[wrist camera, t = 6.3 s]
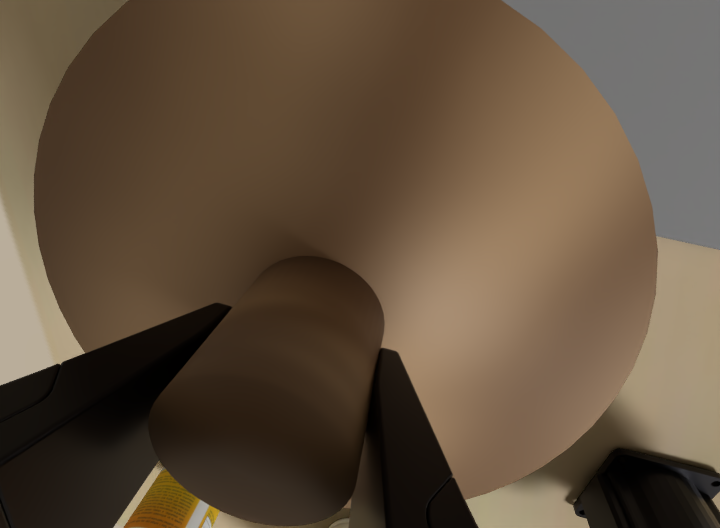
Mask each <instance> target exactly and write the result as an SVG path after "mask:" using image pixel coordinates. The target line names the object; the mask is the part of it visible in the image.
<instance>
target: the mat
mask: <svg viewBox="0 0 720 528" xmlns="http://www.w3.org/2000/svg"><path fill="white" fill-rule="evenodd" d="M502 1H503V2H505V3H506V4H507V5H509V6H510V7H512V8H513V9H514V10H516V11H517V12H519V13H520V14H522V15H523V16H524V17H526V18H527V19H529V20H530V21H531V22H533V23H534V24H536V25H537V26H538V27H540V28H541V29H542V30H543V31H544V32H545V33H547V34H548V35H549V36H550V37H551V38H552V39H553V40H554V41H555V42H556V43H557V44H558V45H559V46H560V47H561V48H562V49H563V50H564V51H565V52H566V53H567V54H568V55H569V56H570V57H571V58H572V59H573V60H574V61H575V62H576V63H577V64H578V65H579V66H580V67H581V68H582V69H583V70H584V72H585V73H586V74H587V76H588V77H589V78H590V80H591V81H592V83H593V84H594V85H595V87H596V88H597V89H598V91H599V92H600V94H601V95H602V96H603V98H604V99H605V100H606V102H607V103H608V105H609V106H610V107H611V109H612V110H613V111H614V113H615V114H616V116H617V118H618V120H619V122H620V124H621V126H622V128H623V130H624V132H625V134H626V136H627V138H628V140H629V143H630V145H631V147H632V149H633V151H634V153H635V155H636V157H637V159H638V161H639V164H640V168H641V171H642V174H643V177H644V181H645V184H646V187H647V191H648V194H649V197H650V201H651V204H652V208H653V217H654V225H655V233H656V236H659V237H664V238H668V239H673V240H677V241H682V242H686V243H691V244H696V245H700V246H705V247H709V248H714V249H718V250H720V0H502Z"/></svg>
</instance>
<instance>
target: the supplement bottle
mask: <svg viewBox="0 0 720 528" xmlns="http://www.w3.org/2000/svg"><path fill="white" fill-rule="evenodd" d="M219 511H220V510H218V509H216V508H214V507H212V506H210V505H208V504H207V503H205V502H203V501H202V500H200V499H198V498H197V497H195V496H194V495H193V494H191V493H190V492H188V491H187V490H186V489H185V488H184V487H183V486H181V485H180V484H179V483H178V482H177V481H176V480H175V479H174V478H173V477H172V476H171V475H170V474H169V472H168V471H167V470H166V469H165V468H163V469H162V471H161V472H160V474H159V475H158V477H157V478H156V480H155V481H154V483H153V484H152V486H151V487H150V489H149V490H148V492H147V493H146V495H145V496H144V498H143V499H142V501H141V502H140V504H139V505H138V507H137V508H136V510H135V511H134V513H133V514H132V516H131V517H130V519H129V520H128V522H127V523H126V525H125V526H124V528H212V526H213V524H214V522H215V520H216V518H217V516H218V514H219Z"/></svg>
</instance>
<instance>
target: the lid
mask: <svg viewBox="0 0 720 528" xmlns="http://www.w3.org/2000/svg"><path fill="white" fill-rule="evenodd" d="M34 213H35V220H36V228H37V235H38V242H39V247H40V251H41V255H42V259H43V262H44V266H45V270H46V274H47V277H48V280H49V283H50V285H51V288H52V290H53V293H54V295H55V298H56V300H57V303H58V305H59V308H60V310H61V312H62V314H63V316H64V318H65V319H66V321H67V323H68V325H69V327H70V329H71V331H72V333H73V335H74V337H75V338H76V340H77V341H78V343H79V344H80V346H81V347H82V349H83V350H84V352H85V353H87V352H90V351H92V350H95V349H97V348H100V347H103V346H105V345H108V344H110V343H113V342H115V341H118V340H120V339H123V338H126V337H128V336H131V335H133V334H136V333H138V332H141V331H144V330H146V329H149V328H151V327H154V326H156V325H159V324H162V323H164V322H167V321H169V320H172V319H174V318H177V317H179V316H182V315H185V314H187V313H190V312H192V311H195V310H197V309H200V308H203V307H205V306H208V305H210V304H213V303H222V304H226V305H229V306H232V307H233V308H232V309H231V310H230V311H229V312H228V314H227V315H226V316H225V317H224V318H223V320H222V321H221V322H220V323H219V324H218V326H217V327H216V328H215V329H214V330H213V332H212V333H211V334H210V335H209V336H208V338H207V339H206V340H205V341H204V342H203V344H202V345H201V346H200V347H199V348H198V350H197V351H196V352H195V353H194V354H193V356H192V357H191V358H190V359H189V360H188V362H187V363H186V364H185V365H184V366H183V368H182V369H181V370H180V371H179V372H178V374H177V375H176V376H175V377H174V378H173V380H172V381H171V382H170V383H169V384H168V386H167V387H166V388H165V389H164V390H163V392H162V393H161V394H160V395H159V397H158V398H157V399H156V401H155V402H154V404H153V406H152V408H151V411H150V415H149V420H148V430H149V436H150V440H151V443H152V446H153V449H154V451H155V453H156V455H157V457H158V459H159V460H160V462H161V463H162V465H163V466H164V468H165V469H166V470H167V471H168V472H169V474H170V475H171V476H172V477H173V478H174V479H175V480H176V481H177V482H178V483H179V484H180V485H181V486H183V487H184V488H185V489H186V490H187V491H188V492H190V493H191V494H193V495H194V496H195V497H197V498H198V499H200V500H202V501H203V502H205V503H207V504H208V505H210V506H212V507H214V508H216V509H218V510H220V511H222V512H224V513H227V514H229V515H232V516H234V517H237V518H240V519H243V520H247V521H251V522H255V523H260V524H266V525H274V526H299V525H306V524H311V523H315V522H318V521H321V520H324V519H326V518H328V517H330V516H332V515H334V514H335V513H337V512H338V511H340V510H341V509H342V508H349V509H350V507H351V497H352V495H353V492H354V490H355V486H356V482H357V476H358V471H359V465H360V460H361V455H362V449H363V444H364V438H365V433H366V427H367V422H368V416H369V411H370V404H371V396H372V390H373V384H374V379H375V373H376V368H377V363H378V357H379V352H380V349H381V348H387V349H391V350H394V351H397V352H398V353H399V355H400V357H401V360H402V362H403V364H404V366H405V368H406V371H407V373H408V375H409V377H410V380H411V382H412V384H413V386H414V388H415V391H416V393H417V395H418V397H419V400H420V402H421V404H422V406H423V408H424V411H425V413H426V415H427V417H428V420H429V422H430V424H431V426H432V428H433V431H434V433H435V435H436V437H437V440H438V442H439V444H440V446H441V449H442V451H443V453H444V455H445V457H446V460H447V462H448V464H449V466H450V469H451V471H452V473H453V477H454V478H455V479H456V482H457V484H458V486H459V488H460V491H461V493H462V495H463V497H464V499H465V500H466V499H469V498H473V497H476V496H480V495H483V494H486V493H489V492H491V491H494V490H496V489H499V488H501V487H504V486H506V485H508V484H511V483H513V482H516V481H517V480H519V479H521V478H523V477H525V476H527V475H528V474H530V473H532V472H534V471H536V470H538V469H539V468H541V467H543V466H544V465H546V464H547V463H549V462H550V461H551V460H553V459H554V458H556V457H557V456H558V455H560V454H561V453H563V452H564V451H565V450H567V449H568V448H569V447H571V446H572V445H573V444H574V443H575V442H576V441H577V440H578V439H579V438H580V437H581V436H582V435H583V434H585V433H586V432H587V431H588V430H589V429H590V428H591V427H592V426H593V425H594V424H595V423H596V421H597V420H598V419H599V418H600V416H601V415H602V414H603V413H604V412H605V410H606V409H607V408H608V407H609V405H610V404H611V403H612V402H613V400H614V399H615V398H616V396H617V394H618V393H619V391H620V389H621V388H622V386H623V384H624V383H625V381H626V379H627V378H628V376H629V374H630V372H631V371H632V369H633V367H634V365H635V362H636V360H637V357H638V355H639V352H640V350H641V347H642V345H643V342H644V340H645V337H646V335H647V331H648V327H649V322H650V318H651V313H652V309H653V304H654V300H655V295H656V278H657V258H658V249H657V241H656V233H655V225H654V217H653V208H652V204H651V201H650V197H649V194H648V191H647V187H646V184H645V181H644V177H643V174H642V171H641V168H640V164H639V161H638V159H637V157H636V155H635V153H634V151H633V149H632V147H631V145H630V143H629V140H628V138H627V136H626V134H625V132H624V130H623V128H622V126H621V124H620V122H619V120H618V118H617V116H616V114H615V113H614V111H613V110H612V109H611V107H610V106H609V105H608V103H607V102H606V100H605V99H604V98H603V96H602V95H601V94H600V92H599V91H598V89H597V88H596V87H595V85H594V84H593V83H592V81H591V80H590V78H589V77H588V76H587V74H586V73H585V72H584V70H583V69H582V68H581V67H580V66H579V65H578V64H577V63H576V62H575V61H574V60H573V59H572V58H571V57H570V56H569V55H568V54H567V53H566V52H565V51H564V50H563V49H562V48H561V47H560V46H559V45H558V44H557V43H556V42H555V41H554V40H553V39H552V38H551V37H550V36H549V35H548V34H547V33H545V32H544V31H543V30H542V29H541V28H540V27H538V26H537V25H536V24H534V23H533V22H531V21H530V20H529V19H527V18H526V17H524V16H523V15H522V14H520V13H519V12H517V11H516V10H514V9H513V8H512V7H510V6H509V5H507V4H506V3H505V2H503V1H502V0H129V1H128V2H126V3H125V4H124V5H123V6H122V7H121V8H120V9H119V10H118V11H117V12H116V13H115V14H114V15H112V16H111V17H110V18H109V19H108V20H107V21H106V22H105V23H104V24H103V25H102V26H101V27H100V28H99V29H98V30H97V31H95V32H94V33H93V35H92V36H91V37H90V39H89V40H88V41H87V43H86V44H85V46H84V47H83V48H82V50H81V51H80V52H79V54H78V55H77V56H76V58H75V59H74V60H73V62H72V63H71V64H70V66H69V67H68V69H67V71H66V73H65V75H64V77H63V79H62V81H61V83H60V85H59V87H58V89H57V91H56V93H55V95H54V97H53V99H52V101H51V103H50V106H49V110H48V113H47V116H46V119H45V123H44V126H43V129H42V133H41V136H40V139H39V145H38V152H37V159H36V166H35V174H34Z"/></svg>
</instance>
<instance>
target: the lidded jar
mask: <svg viewBox="0 0 720 528" xmlns="http://www.w3.org/2000/svg"><path fill="white" fill-rule="evenodd" d="M329 528H349V518H344V519H340V520H337V521H335V522H334V523H332V524H331V525H330V527H329Z"/></svg>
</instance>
